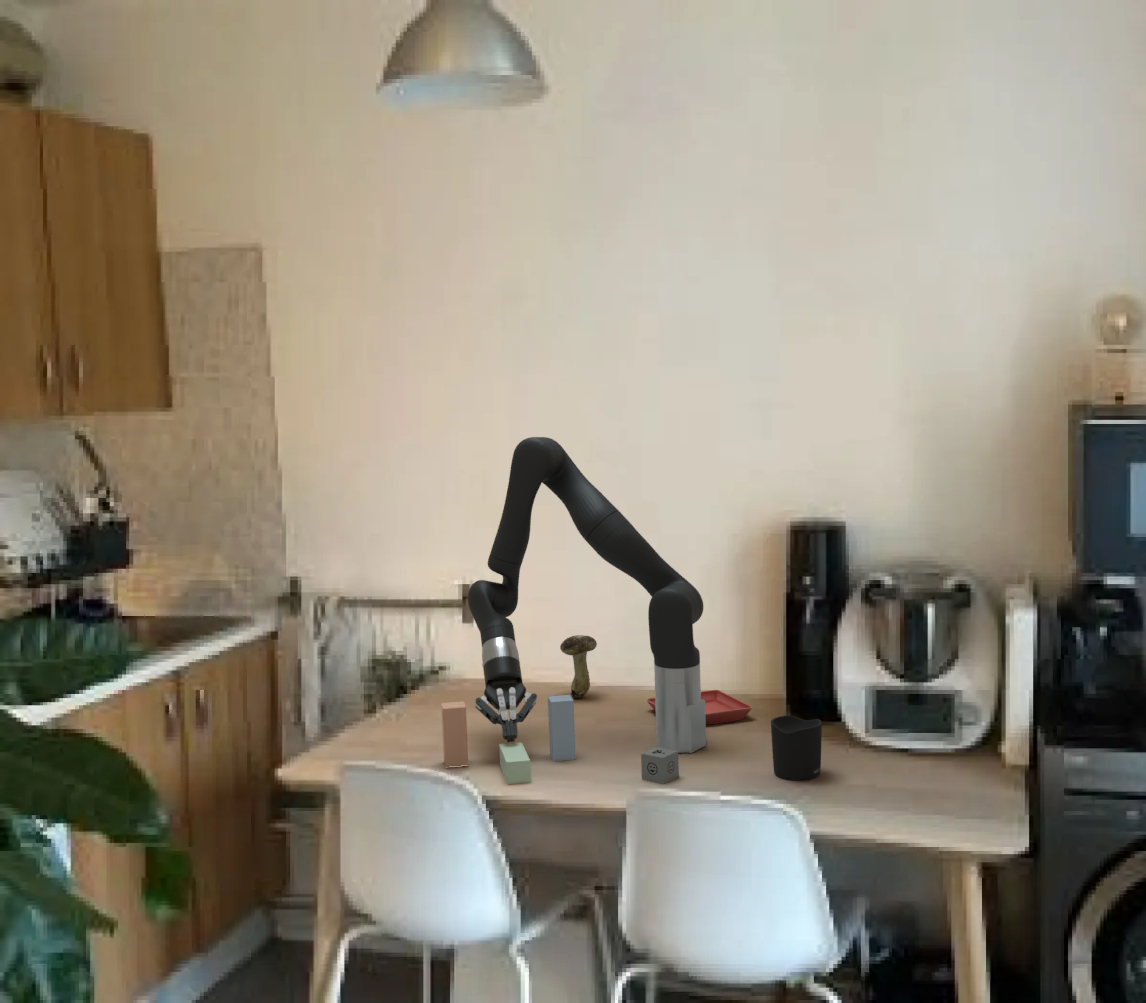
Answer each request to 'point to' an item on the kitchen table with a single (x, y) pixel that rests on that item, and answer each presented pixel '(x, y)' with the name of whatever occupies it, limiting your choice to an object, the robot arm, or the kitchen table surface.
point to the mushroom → (579, 662)
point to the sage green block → (515, 763)
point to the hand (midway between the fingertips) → (511, 739)
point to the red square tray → (719, 707)
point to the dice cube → (660, 765)
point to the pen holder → (796, 747)
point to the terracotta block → (454, 734)
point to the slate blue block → (561, 727)
